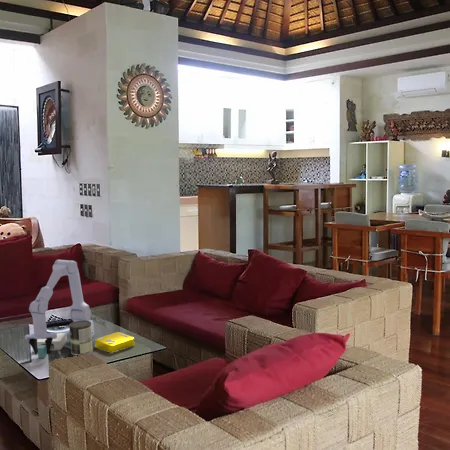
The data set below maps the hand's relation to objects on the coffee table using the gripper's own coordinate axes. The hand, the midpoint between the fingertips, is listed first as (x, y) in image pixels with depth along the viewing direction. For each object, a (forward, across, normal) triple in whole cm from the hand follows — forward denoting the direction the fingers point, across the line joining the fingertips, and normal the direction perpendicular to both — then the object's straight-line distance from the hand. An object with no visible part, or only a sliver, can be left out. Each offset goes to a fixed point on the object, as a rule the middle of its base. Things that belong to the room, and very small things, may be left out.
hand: (42, 353), depth 264 cm
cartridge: (+2, 0, +5) cm, 5 cm away
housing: (+2, 0, +14) cm, 15 cm away
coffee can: (+2, +18, +5) cm, 18 cm away
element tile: (+2, +32, +11) cm, 34 cm away
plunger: (-2, 0, +16) cm, 17 cm away
